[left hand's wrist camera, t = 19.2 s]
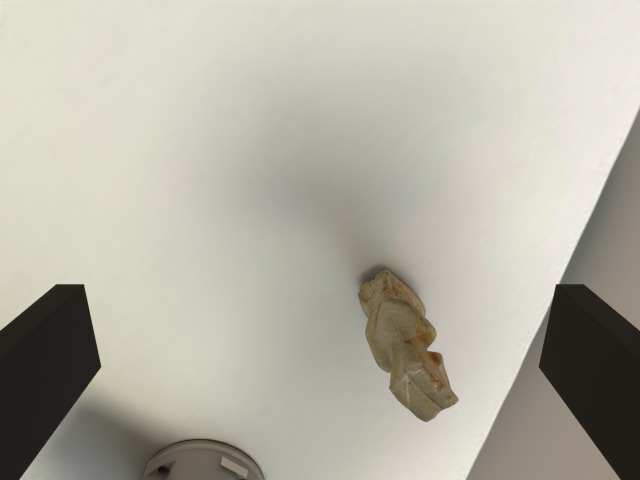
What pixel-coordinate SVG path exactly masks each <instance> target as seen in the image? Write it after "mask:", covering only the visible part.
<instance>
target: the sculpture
mask: <svg viewBox="0 0 640 480" xmlns="http://www.w3.org/2000/svg"><path fill="white" fill-rule="evenodd" d="M358 295H359V300H360V303H361V306H362V308H363V311H364V313H365V315H366V317H367V318H368V322H367V326H366V331H365V334H366V338H367V341H368V343H369V346H370V348H371V351H372V353H373V356H374V358H375V361H376V362H377V364H378V366H379V367H380V368H381V369H382V370H384V371H385V372H388V373H391V379H390V386H389V389H390V390H391V392H392V394H394V396H395V397H396V399H397V400H398V401H399V402H400V403H401V404H402V405H404V406H405V407H406V408H407V409H409V410H410V411H411V412H412V413H413V414H414V415H415V416H416V417H417V418H419V419H420V420H422V421H425V422H428V421H430V420H431V419H433V418H435V417H436V415H437V414H438V413H439V412H440V411H442V410H443V409H446V408H449V407H451V406H452V405H454V404H456V403H457V402H458V397H457V396H456V395H455V394H454V393H453V391H452V390H451V388H450V384H449V380H448V377H447V374H446V371H445V368H444V364H443V357H442V355H441V354H440V353H437V352H430V351H427V348H428V347H429V346H430V345H431V344H432V343H433V341H434V340H435V338H436V330H435V328H434V327H433V326H432V325H431V323H430V322H429V321H428V320H427V319H426V318H425V314H426V311H425V307H424V305H423V303H422V301H421V300H420V299H419V297H418V296H417V295H416V294H415V293H414V292H413V291H411V290H410V289H409V288H408V287H407V286H405V285H404V284H403V283H401V282H400V281H399V280H398V279H397V278H396V277H395V276H394V275H392V273H391V272H390V271H388V270H387V269H384V270H382V271H380V272H379V273H377V274H376V276H375V279H374V280H372V281H371V282H369V281H367V282H365V283H364V284H363V285H362V286H361V287H360V292H359V293H358Z"/></svg>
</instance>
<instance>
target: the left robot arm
mask: <svg viewBox="0 0 640 480" xmlns="http://www.w3.org/2000/svg"><path fill="white" fill-rule="evenodd" d="M100 368H101V363H100V359H99V354H98V349H97V344H96V340H95V335H94V330H93V325H92V321H91V316H90V311H89V306H88V302H87V297H86V292H85V287H84V284H56V285H55V286H54V287H53V288H51V289H50V290H49V291H48V292H47V293H45V294H44V295H43V296H42V297H41V298H39V299H38V300H37V301H36V302H34V303H33V304H32V305H31V306H30V307H28V308H27V309H26V310H25V311H24V312H22V313H21V314H20V315H19V316H18V317H16V318H15V319H14V320H13V321H12V322H10V323H9V324H8V325H7V326H6V327H4V328H3V329H2V330H1V331H0V480H19V479H20V478H21V477H22V475H23V474H24V472H25V471H26V470H27V468H28V467H29V466H30V464H31V463H32V461H33V460H34V459H35V457H36V456H37V455H38V453H39V452H40V450H41V449H42V448H43V446H44V445H45V444H46V442H47V441H48V439H49V438H50V437H51V435H52V434H53V433H54V431H55V430H56V428H57V427H58V426H59V424H60V423H61V422H62V420H63V419H64V417H65V416H66V415H67V413H68V412H69V411H70V409H71V408H72V406H73V405H74V404H75V402H76V401H77V400H78V398H79V397H80V395H81V394H82V393H83V391H84V390H85V389H86V387H87V386H88V384H89V383H90V382H91V380H92V379H93V378H94V376H95V375H96V373H97V372H98V371H99V369H100ZM539 368H540V369H541V371H542V372H543V373H544V375H545V376H546V378H547V379H548V380H549V382H550V383H551V384H552V386H553V387H554V389H555V390H556V391H557V393H558V394H559V395H560V397H561V398H562V400H563V401H564V402H565V403H566V405H567V406H568V408H569V409H570V411H571V412H572V413H573V415H574V416H575V417H576V419H577V420H578V422H579V423H580V424H581V426H582V427H583V428H584V430H585V431H586V433H587V434H588V435H589V437H590V438H591V439H592V441H593V442H594V444H595V445H596V446H597V448H598V449H599V450H600V452H601V453H602V454H603V456H604V457H605V459H606V460H607V461H608V463H609V464H610V466H611V467H612V468H613V470H614V471H615V472H616V474H617V475H618V477H619V478H620V479H621V480H640V331H639V330H638V329H637V328H636V327H634V326H633V325H632V324H631V323H630V322H628V321H627V320H626V319H625V318H624V317H622V316H621V315H620V314H619V313H618V312H616V311H615V310H614V309H613V308H612V307H610V306H609V305H608V304H607V303H606V302H604V301H603V300H602V299H601V298H599V297H598V296H597V295H596V294H595V293H593V292H592V291H591V290H590V289H589V288H587V287H586V286H585V285H583V284H556V287H555V292H554V297H553V302H552V306H551V311H550V316H549V321H548V325H547V330H546V335H545V340H544V344H543V349H542V354H541V359H540V363H539ZM141 480H264V478H263V475H262V473H261V471H260V469H259V468H258V467H257V465H256V464H255V463H254V462H253V461H252V460H251V459H250V458H249V457H248V456H246V455H245V454H244V453H242V452H241V451H239V450H237V449H235V448H233V447H231V446H228V445H225V444H222V443H219V442H214V441H206V440H191V441H184V442H179V443H176V444H173V445H170V446H168V447H166V448H164V449H163V450H161V451H159V452H158V453H157V454H156V455H155V456H154V457H153V458H152V459H151V460H150V461H149V463H148V464H147V466H146V468H145V471H144V473H143V475H142V478H141Z"/></svg>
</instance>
